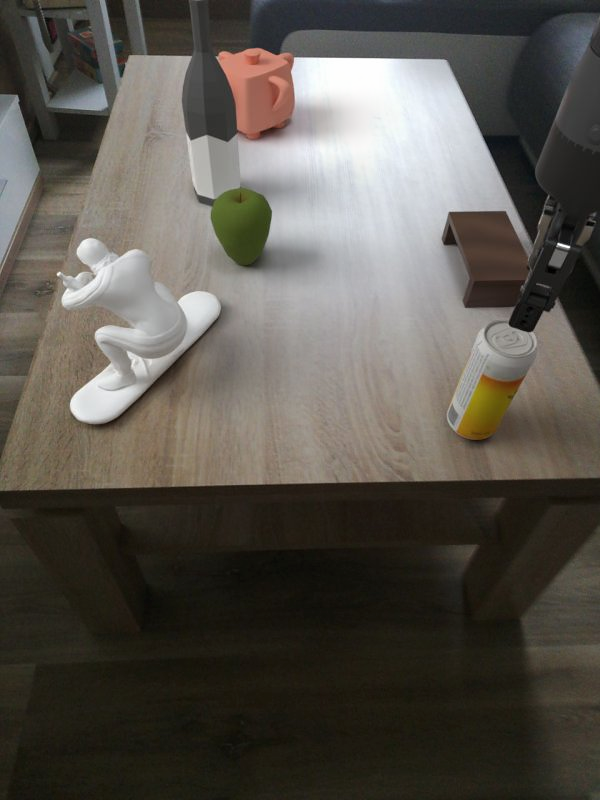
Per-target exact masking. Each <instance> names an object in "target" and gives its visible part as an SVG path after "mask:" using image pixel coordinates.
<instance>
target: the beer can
mask: <svg viewBox="0 0 600 800" xmlns="http://www.w3.org/2000/svg"><path fill="white" fill-rule="evenodd" d="M509 320H510V318H497V319H493V320H491V321H490V322H488V323H487V324H486V325H485V326H484V327H483V328H481V329H480V330H479V331H478V333H477V335H476V338H475V340H474V343H473V345H472V348H471V350H470V352H469V356H468V358H467V360H466V363H465V365H464V367H463V370H462V372H461V375H460V377H459V380H458V383H457V385H456V388H455V390H454V392H453V395H452V397H451V400H450V402H449V404H448V407H447V410H446V420H447V423H448V424H449V426H450V428H451V429H452V430H453V431H454V432H455V433H456V434H457V435H459V436H460V437H461V438H464V439H467V440H473V441H475V440H477V441H478V440H485V439H488V438H490V437H491V436H493V435H494V433H496V431H497V430H498V427H499V425H500V424H501V422H502V420H503V418H504V416H505V414H506V412H507V411H508V409H509V407H510V405H511V403H512V401H513V400H514V398H515V397H516V394H517V393H518V391H519V389H520V387H521V385H522V383H523V382H524V379H525V378H526V376H527V375H528V372H529V370H530V368H531V366H532V365H533V363H534V360H535V359H536V358H537V355H538V347H537V346H538V339H537V336H536V334H535V333H534V330H533V331H532V332H525V331H522V330H518V329H515V328H512V327H510V326H509Z"/></svg>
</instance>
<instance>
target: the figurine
mask: <svg viewBox="0 0 600 800" xmlns="http://www.w3.org/2000/svg"><path fill="white" fill-rule="evenodd" d="M76 256H77V258H78V259H79V260H80V261H81V262H82V264H83V265H86V266H87V267H89V269H90V272H89V271H82V272H79V273H78V274H77V275H76V276H75V277H73V276H72V275H65V274H64V273H62V272H61V271H57V273H56V276H57V277H58V278H59V279H61V280H62V285H63V286H64V287H66V290H65V291H64V293H63V294H62V297H61V305H62V308H64V309H65V310H67V311H76V310H85V309H88V308H92V307H93V308H94V307H97V306H98V307H101V308H102V309H105V310H107V311H109V312H110V313H113V314H115V315H116V316H118V317H119V318H121V319H122V320H124V321H126V322H127V323H128V324H129V325H130V326H131V327H122V326H118V325H112V324H108V325H103V326H101V327H99V328H98V329H96V331H95V333H94V340H95V342H96V344H97V346H98V347H99V349H100V350H101V352H102V353H103V354H104V355H105V356H106V357H107V359H108V360H109V362H110V363H109V365H108V366H106V367H105V368H104V369H103V370H102V371H101V372H100V373H98V374H97V375H95V377H93V378H92V379H91V380H90V381H88V382H87V383H86V384H85V385H83V386H82V387H81V388H80V389H78V390H77V391H76V392H75V393H74V395H73V396H72V397H71V399H70V403H69V409H70V412H71V413H72V415H73V417H75V418H76V420H77V421H79V422H81V423H85V424H89V425H102V424H106V423H109V422H111V421H113V420H115V419H117V418H118V417H119V416H120V415H122V414H123V413H124V412H125V411H126V410H127V409H128V408H129V407H130V406H131V405H132V404H134V403H135V402H136V401H137V400H139V398H140V397H141V396H142V395H143V394H144V393H145V392H146V391H147V390H148V389H149V388H150V387H151V386H152V385H153V384H154V383H155V382H156V381H157V380H158V378H160V377H161V376H162V375H163V374H164V373H165V372H166V371H167V370H168V369H169V368H170V367H171V366H173V364H174V363H175V362H176V361H177V360H178V359H179V358H180V357H182V355H183V354H184V353H185V352H186V351H187V350H188V349H189V348H190V347H191V346H192V345H193V344H195V342H196V341H197V340H199V338H200V337H202V335H203V334H204V333H205V332H206V331H207V330H208V329H209V328H210V327H211V326H212V325H213V323H214V322H215V321H216V320H217V319H218V317H220V314H221V310H222V308H221V307H222V306H221V302H220V300H219V299H218V297H217V296H215V294H213V293H211V292H208V291H203V290H197V291H191V292H188V293H187V294H185V295H183V296H181V297H180V299H179V300H178V301H177V300H176V298H175V297H174V296H173V294H172V293H171V292H170V290H169V289H168V288H167V287H166V285H165V284H164V283H163V282H160V281H154V272H153V267H152V266H153V265H152V259H151V257H150V256H149V254H147V253H146V252H145V251H143V250H141V249H137V248H133V249H130V250H128V251H126V252H125V253H124V254H122V255H121V256H119V255H118V254H117V253H115V252H113V251H109V250H108V248H107V246H106V245H105V243H103V241H101V240H99V239H96V238H94V237H93V238H90V237H89V238H86V239H83V240H82V241H81V242H80V244H79V246H78V247H77V248H76ZM93 276H95V277H93Z"/></svg>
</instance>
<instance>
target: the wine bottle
mask: <svg viewBox="0 0 600 800" xmlns="http://www.w3.org/2000/svg"><path fill="white" fill-rule="evenodd" d="M187 2H188V3H189V11H190V22H191V31H192V39H193V40H192V41H193V52H192V54H191V58H190V61H189V64H188V66H187V68H186V71H185V75H184V78H183V84H182V91H181V106H182V107H181V108H182V113H183V120H184V122H183V123H184V127H185V136H186V143H187V150H188V158H189V164H190V171H191V179H192V185H193V191H194V195H195V196H196V198H197V200H198V202H199V203H200V204H203V205H206V206H207V205H208V206H210V207H213V204H214V201H215V200H216V199H217V198H218V196H220V195H221V194H222V193H224V192H226V191H228V190H231V189H237V188H242V184H241V169H240V154H239V153H240V152H239V138H238V137H239V136H238V135H239V134H238V130H237V119H236V103H235V100H234V96H233V93H232V89H231V86H230V84H229V81H228V79H227V76H226V74H225V72H224V71H223V69H222V67H221V65H220V64H219V62H218V61H219V59H218V57H216V55H215V53H214V51H213V46H212V45H213V44H212V35H211V24H210V23H211V21H210V11H209V0H188V1H187Z"/></svg>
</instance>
